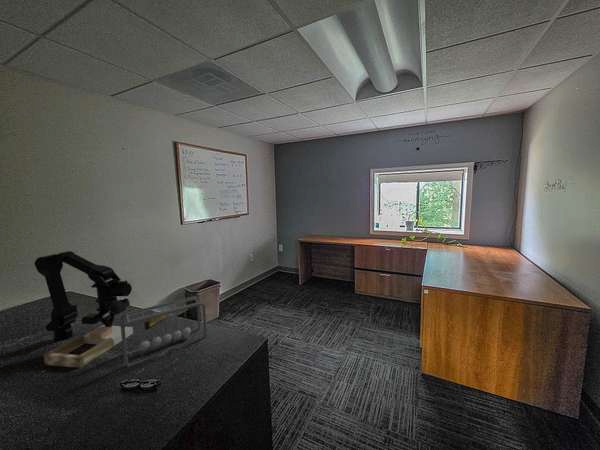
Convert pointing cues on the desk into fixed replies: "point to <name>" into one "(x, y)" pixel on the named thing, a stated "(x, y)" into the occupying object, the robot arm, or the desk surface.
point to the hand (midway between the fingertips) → (109, 328)
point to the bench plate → (115, 335)
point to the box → (62, 357)
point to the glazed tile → (101, 333)
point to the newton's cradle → (167, 337)
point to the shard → (151, 321)
